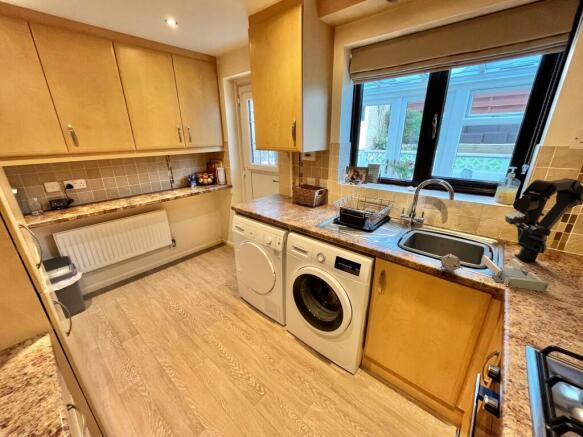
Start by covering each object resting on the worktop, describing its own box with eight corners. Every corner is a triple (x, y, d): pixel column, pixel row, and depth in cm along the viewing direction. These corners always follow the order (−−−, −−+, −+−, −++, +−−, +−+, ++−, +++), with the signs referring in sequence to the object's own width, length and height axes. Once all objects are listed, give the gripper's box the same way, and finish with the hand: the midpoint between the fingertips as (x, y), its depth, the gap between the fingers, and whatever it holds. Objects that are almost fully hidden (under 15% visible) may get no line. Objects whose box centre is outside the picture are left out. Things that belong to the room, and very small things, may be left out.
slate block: (497, 274, 105) (500, 266, 103) (517, 278, 102) (521, 270, 101) (503, 282, 99) (506, 275, 98) (524, 287, 96) (528, 279, 95)
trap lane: (481, 260, 115) (483, 255, 114) (512, 264, 112) (515, 258, 111) (506, 286, 97) (509, 280, 95) (544, 291, 94) (548, 285, 93)
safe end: (504, 284, 98) (508, 276, 96) (542, 289, 95) (546, 281, 94) (506, 286, 97) (510, 278, 95) (544, 291, 94) (549, 283, 92)
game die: (442, 274, 110) (441, 252, 112) (464, 275, 104) (463, 253, 107) (437, 272, 104) (436, 249, 106) (461, 273, 98) (459, 249, 100)
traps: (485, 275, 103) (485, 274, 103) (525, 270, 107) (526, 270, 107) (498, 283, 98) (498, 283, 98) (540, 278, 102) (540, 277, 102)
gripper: (499, 201, 113) (488, 230, 119) (526, 214, 96) (512, 248, 102) (526, 203, 111) (514, 233, 116) (559, 217, 94) (542, 251, 100)
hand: (519, 240), depth 109 cm, fingers closed
